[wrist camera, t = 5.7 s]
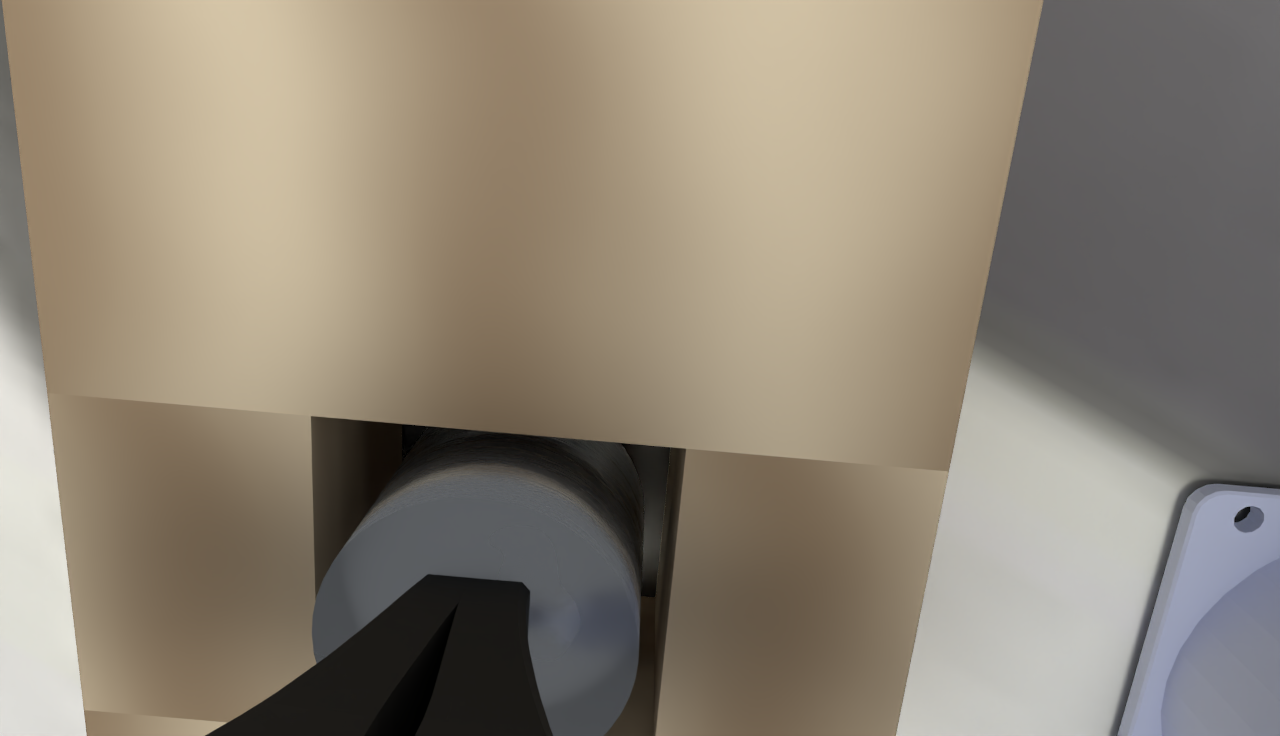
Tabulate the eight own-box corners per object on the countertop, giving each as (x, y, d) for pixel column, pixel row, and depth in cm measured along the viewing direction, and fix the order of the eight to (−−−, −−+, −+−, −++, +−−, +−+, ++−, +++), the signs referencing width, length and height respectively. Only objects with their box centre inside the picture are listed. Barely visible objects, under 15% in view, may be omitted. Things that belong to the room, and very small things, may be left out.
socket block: (1065, -767, 12) (1297, -1256, 7) (807, 759, 19) (851, 958, 15) (141, -850, 12) (-159, -1391, 7) (232, 710, 19) (105, 893, 15)
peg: (655, 404, 15) (653, 513, 11) (634, 627, 16) (625, 795, 12) (398, 381, 15) (307, 483, 11) (397, 606, 16) (315, 767, 12)
